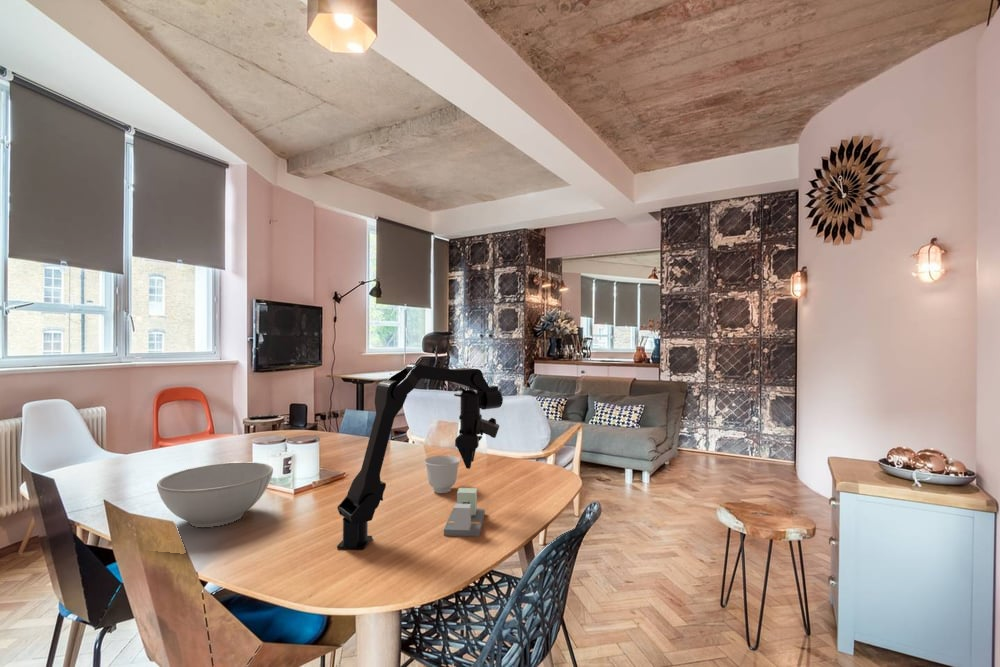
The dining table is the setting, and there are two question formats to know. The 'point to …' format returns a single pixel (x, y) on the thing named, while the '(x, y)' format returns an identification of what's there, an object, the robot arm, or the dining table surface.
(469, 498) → the sleeve
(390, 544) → the dining table surface
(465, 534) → the board
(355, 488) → the robot arm
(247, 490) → the decorative bowl
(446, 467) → the teacup
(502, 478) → the dining table surface
